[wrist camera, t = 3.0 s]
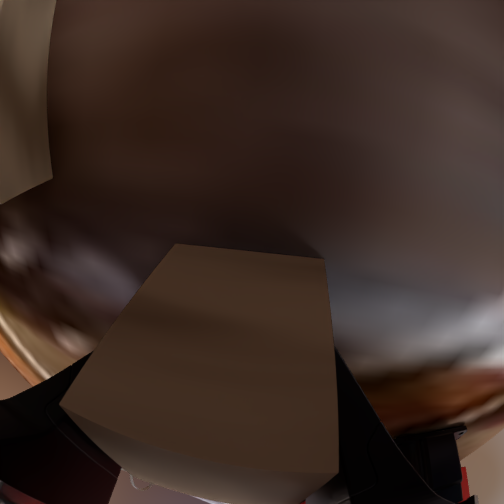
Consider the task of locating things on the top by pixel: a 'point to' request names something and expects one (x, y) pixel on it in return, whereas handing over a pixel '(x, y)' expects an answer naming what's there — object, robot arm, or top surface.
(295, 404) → the walnut block
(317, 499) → the robot arm
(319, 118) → the top surface
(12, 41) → the tower base
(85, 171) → the top surface
